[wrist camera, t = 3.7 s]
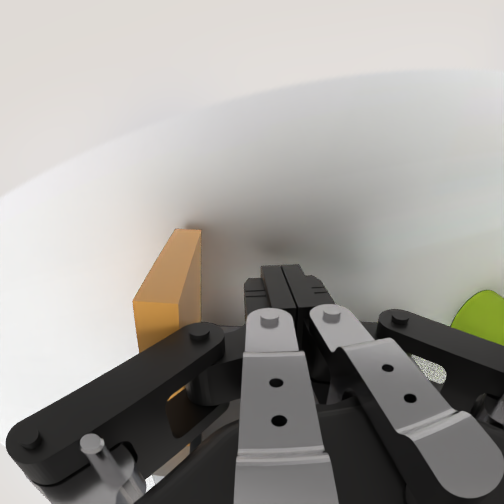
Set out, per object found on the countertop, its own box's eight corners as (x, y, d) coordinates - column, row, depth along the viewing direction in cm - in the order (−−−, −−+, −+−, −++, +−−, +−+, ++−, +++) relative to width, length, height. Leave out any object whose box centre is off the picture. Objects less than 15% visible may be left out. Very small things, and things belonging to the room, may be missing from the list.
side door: (208, 467, 22) (206, 563, 13) (193, 466, 22) (189, 562, 13) (203, 224, 15) (168, 337, 6) (178, 223, 15) (115, 332, 6)
